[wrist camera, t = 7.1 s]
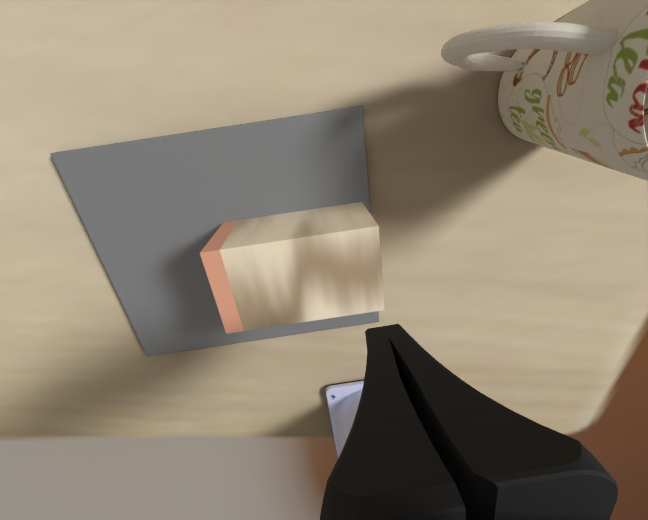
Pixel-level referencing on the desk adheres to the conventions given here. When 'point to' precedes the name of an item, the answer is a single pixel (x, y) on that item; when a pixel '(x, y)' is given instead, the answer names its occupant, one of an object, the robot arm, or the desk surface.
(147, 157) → the mat
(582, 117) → the mug
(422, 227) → the desk surface
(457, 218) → the desk surface
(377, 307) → the block
